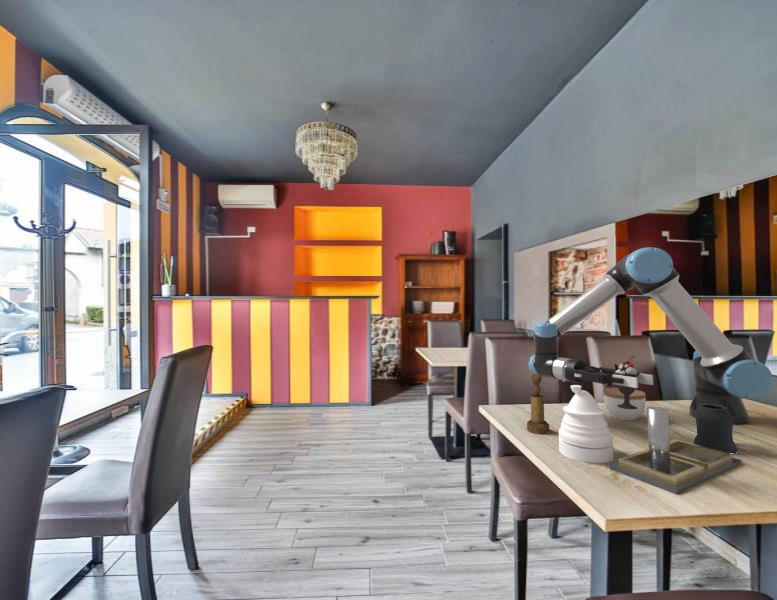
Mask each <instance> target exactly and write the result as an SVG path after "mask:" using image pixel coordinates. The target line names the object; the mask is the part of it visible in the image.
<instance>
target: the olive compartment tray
mask: <svg viewBox="0 0 777 600" xmlns="http://www.w3.org/2000/svg"><path fill="white" fill-rule="evenodd" d="M646 412H647V432H648V433H647V434H648V435H647V436H648V438H647V439H648V449H644V450H641V451H638V452H635V453H632V454H629V455H627V456H624V457H621V458H620V457H619V458H618V462H617V463H613V464H610V465H609V469H610V470H611V471H614V472H617V473H619V474H622V475H625V476H628V477H630V478H633V479H635V480H637V481H640V482H643V483H646V484H648V485H651V486H654V487H657V488H659V489H662V490H664V491H667V492H669V493H672V494H674V495H678V494H679V493H682V492H684V491H686V490H689V489H690V487H691V488H692V486H693V487H694V485H695V486H697V485H698V483H699V484H701V483H703V482H705V480H706V481H708V480H709V478H710V479H711V477H712V478H714V477H716V476H718V475H720V474H722V472H723V473H724V471H725V472H726V470H727V471H728V469H729V470H731V469H732V467H733V468H735V467H737V466H739V465H742V464H743V460H742V459H740V458H735V457H733V454H730V453H726V452H722V451H719V450H715V449H711V448H707V447H703V446H700V445H696V444H693V443H692V442H688V441H685V440H680V439H675V438H674V439H672V440H670V424H669V422H670V421H669V409H667V408H665V407H660V406H648V407H647V408H646ZM741 463H742V464H741ZM738 464H739V465H738ZM736 465H737V466H736ZM734 466H735V467H734ZM730 468H731V469H730ZM715 475H716V476H715ZM713 476H714V477H713ZM707 479H708V480H707ZM702 481H703V482H702ZM700 482H701V483H700ZM696 484H697V485H696ZM688 488H689V489H688Z"/></svg>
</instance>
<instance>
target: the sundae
mask: <svg viewBox="0 0 777 600" xmlns="http://www.w3.org/2000/svg"><path fill="white" fill-rule="evenodd" d="M634 358H635V355H632V356H631V357H630V358H629V359H628V360H625V362H622V363H621V362H620V364H616V363H614V364H613V366H614V369H615V370H616V371H613V373H615V375H621V376H628V377H635V378H637V376H638V375H639V374H640V372H639V371H638V370H637V368H635V367H634V366H635V365H634V363H632V359H634ZM616 386H617V388H618V389H619V391H620V392H621V393H622V394H623V395H624V403H623V404H619V405H617V406H618V407H619V408H623V409H637V407H636V406H633V405H631V404H630V401H629V396H630V395H631V394H632V393H633V392H634V391H635V390H636V388H633V387H627V386H621V385H616Z"/></svg>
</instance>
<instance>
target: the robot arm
mask: <svg viewBox="0 0 777 600" xmlns="http://www.w3.org/2000/svg"><path fill="white" fill-rule="evenodd" d="M677 271H678V270H676V269H675V268H674V262H673V259H672V257H671V256H670V254H669V253H667V252H666V251H665V250H664V249H662V248H659V247H653V246H652V247H642V248H638V249H636V250H634V251H632V252H630V253H628V254H627V255H625V256H623V257H622V258H621V259H620V260H619V261H618V262H617V263H616V264H615V265H614V266H613V267H611V268H610V269H609V270H608V271H607V272H606V273H604V274H603V278H602V279H600V281H599V282H597V283H595V285H592V287H591V288H589V289H587V290H586V291H585V292H584V293H582V294H581V295H579V296H578V297H577V298H575V299H574V300H573V301H572V302H570V303H569V304H568V305H566V306H565V307H564V308H562V309H561V310H560V311H558V312H557V313H556V314H554V315H553V316H551V317H550V318H549V319H547V321H545V322H536V323H534V329H533V332H532V338H533V340H534V348H535V350H534V354H533V355H531V356H530V358H529V361H528V364H527V365H528V369H529V372H530V373H531V374H532V375H533V374H539V375H540V376H541V378H548V379H556V380H560V381H562V382H563V383H565V382H571V383H575V384H576V383H577V384H583V383H585V382H591V383H596V384H601V385H606V384H607V387H613V385H616V386H617V385H621V386H627V387H633V388H635V389H637V388H639V384H643V385H650V386H653V385H654V375H653V374H647V373H640V372H639V373H640V374H639V375H638V376H637V378H635V377H628V376H621V375H615V373H613V371H616V370H615V368H608V367H604V366H600V367H596V366H594V365H590V366H588V365H587V363H586V362H585V360H582V359H575V358H574V359H573V358H568V357H559V355H558V354H559V352H558V351H559V350H558V349H559V348H558V339H559V338H560V337H562V336H563V335H564V334H565V333H567V332H568V331H570V330H571V329H573V328H574V327H575V326H577V325H578V324H579V323H581V322H583V320H585V319H587V318H588V317H589V316H591V315H592V314H593V313H594V312H596V311H597V310H599V309H600V308H601V307H603V306H604V305H606V304H607V303H609V301H611V300H612V299H614V298H615V297H617V296H618V295H624V294H626V293H627V292H629V291H630V290H631V289H634V288H635V287H636V289H637V290H638V291H639V292H640V294H641V295H642V296H645V297H651V299H653V301H654V302H655V304H657V306H658V307H659V308H660V310H661V311H662V312H663V313H664V314H665V315H666V317H667V318H668V319H669V321H671V322H672V323H673V325H674V326H675V327H676V329H677V330H678V331H679V332H680V333H681V334H682V336H683V337H684V338H685V339H686V340H687V342H688V343H689V344H690V345H691V346H692V347H693V349H694V350H695V351H694V352H693V358H692V362H693V375H694V376H693V377H694V394H693V397H692V400H691V403H690V405H689V415H691V416H692V417H695V418H696V414H695V412H696V411H697V410H698V409H699V405H700V404H715V405H721V406H724V407H726V408H727V409H728V412H729V413H730V414H731V416H732V421H733V424H735V425H736V424H737V425H739V424H747V423H749V422H750V418H749V417H750V416H749V415H750V414H749V412H748V410H747V408H746V406H745V405H744V401H743V400H742V399H756V398H759V397H762V396H764V395H765V394H767V393H768V392H769V391H770V390H771V388H772V385H773V382H774V377H773V374H772V371H771V369H769V367H767V365H765V364H764V363H762V362H760V361H759V360H755V359H754V358H753V357H752V356H751V355H750V354H749V353H748V352H747V350H746V348H744V347H743V345H739V344H733V343H732V342H731V341H730V340H729V338H727V336H726V335H725V334H724V333H723V332H722V331H721V329H720V328H719V327H718V326H717V324H715V322H714V321H713V320H712V319H711V318H710V317H709V316H708V314H706V312H705V311H704V310H703V309H702V307H700V305H699V304H698V303H697V302H696V300H695V299H694V298H693V297H692V296H691V295H690V294H689V292H688V291H687V290H686V289H685V287H683V286H682V285H681V283H680V282H679V279H680V274H679V272H677Z"/></svg>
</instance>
